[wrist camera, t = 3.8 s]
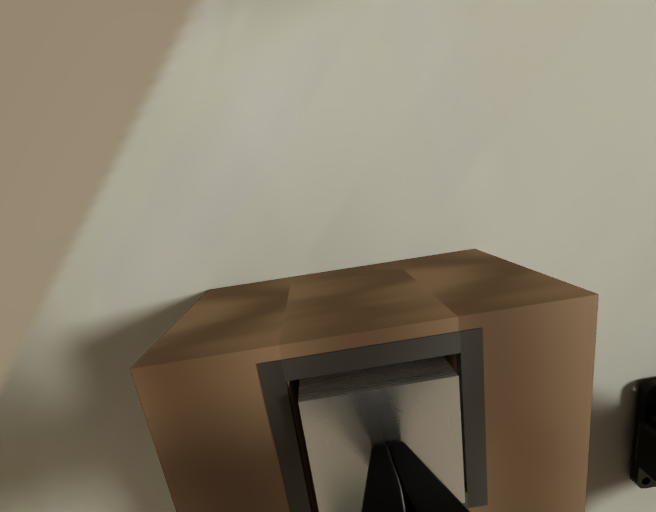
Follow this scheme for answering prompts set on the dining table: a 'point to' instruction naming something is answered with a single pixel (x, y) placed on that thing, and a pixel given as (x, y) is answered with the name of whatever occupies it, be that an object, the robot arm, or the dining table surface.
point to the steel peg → (380, 425)
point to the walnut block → (371, 351)
